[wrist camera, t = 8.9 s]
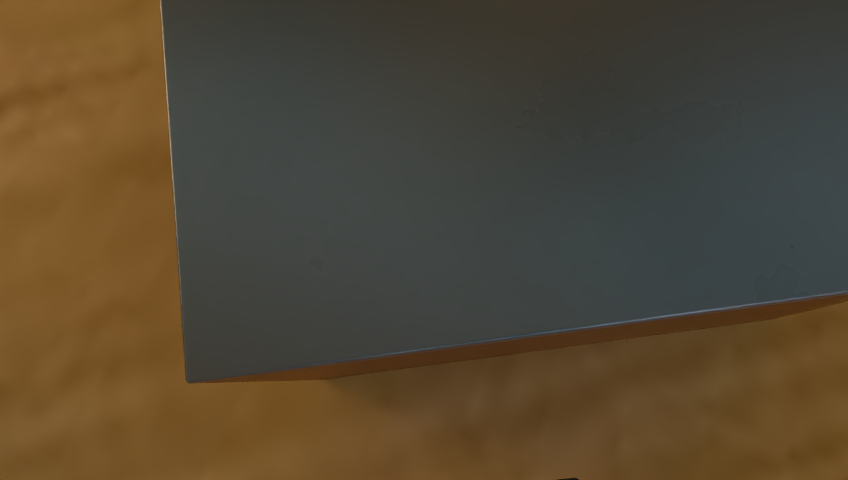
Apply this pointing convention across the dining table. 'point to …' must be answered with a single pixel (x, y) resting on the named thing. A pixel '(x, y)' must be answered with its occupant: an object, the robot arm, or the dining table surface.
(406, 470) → the dining table surface
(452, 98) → the lid
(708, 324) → the chest
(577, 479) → the robot arm
